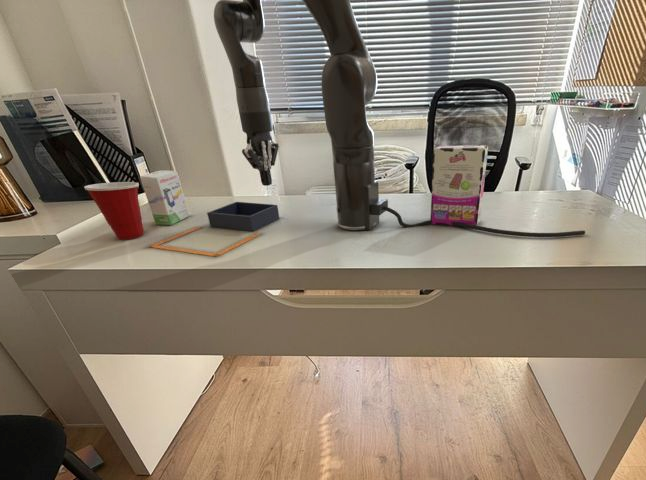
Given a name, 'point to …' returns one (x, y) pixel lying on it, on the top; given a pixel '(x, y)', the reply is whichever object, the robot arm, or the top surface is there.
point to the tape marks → (198, 251)
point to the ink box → (165, 197)
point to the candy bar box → (458, 184)
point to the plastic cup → (119, 207)
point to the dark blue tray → (243, 216)
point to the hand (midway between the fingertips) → (267, 184)
